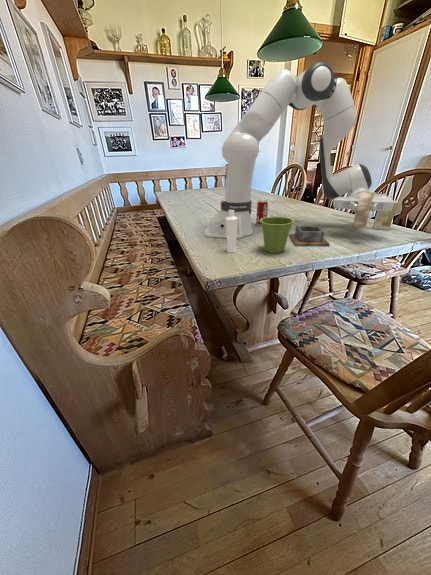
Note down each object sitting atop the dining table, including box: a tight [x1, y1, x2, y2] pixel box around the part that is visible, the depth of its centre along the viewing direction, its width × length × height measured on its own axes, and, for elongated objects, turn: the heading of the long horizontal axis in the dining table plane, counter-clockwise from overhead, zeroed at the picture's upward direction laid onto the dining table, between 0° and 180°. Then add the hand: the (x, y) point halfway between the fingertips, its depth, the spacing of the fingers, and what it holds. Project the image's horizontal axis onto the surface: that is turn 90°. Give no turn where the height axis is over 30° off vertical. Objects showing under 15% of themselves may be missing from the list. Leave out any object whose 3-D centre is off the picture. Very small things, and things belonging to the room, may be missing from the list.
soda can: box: [255, 199, 269, 227], centre depth 122 cm, size 5×5×12 cm
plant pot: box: [260, 216, 295, 254], centre depth 90 cm, size 12×12×11 cm
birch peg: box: [352, 191, 376, 229], centre depth 92 cm, size 4×4×12 cm
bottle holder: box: [288, 225, 330, 247], centre depth 100 cm, size 13×13×5 cm
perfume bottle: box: [225, 210, 238, 253], centre depth 90 cm, size 5×4×15 cm
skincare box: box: [372, 200, 399, 231], centre depth 111 cm, size 6×4×12 cm
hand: (364, 207), depth 90 cm, fingers closed on birch peg, 4 cm apart
